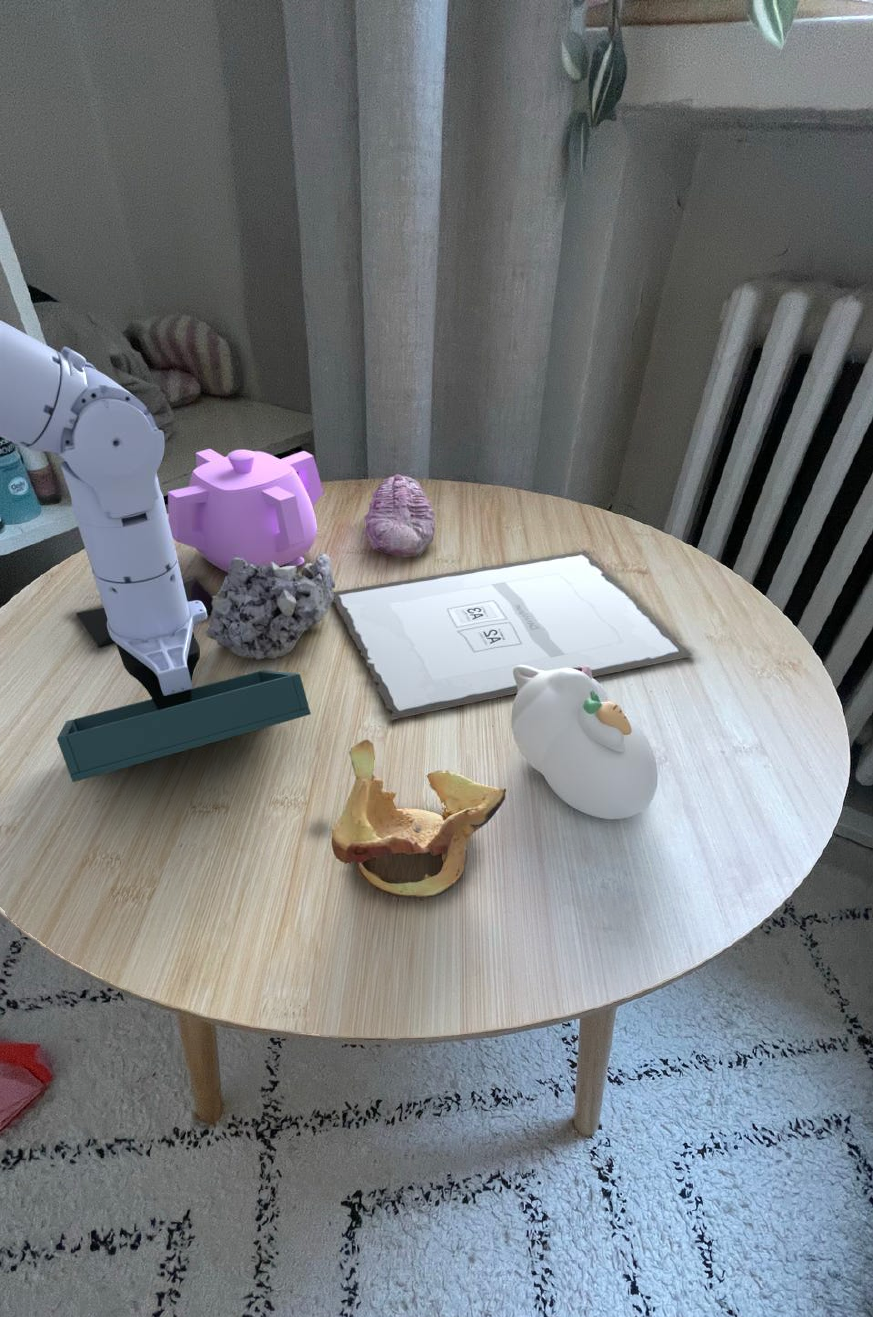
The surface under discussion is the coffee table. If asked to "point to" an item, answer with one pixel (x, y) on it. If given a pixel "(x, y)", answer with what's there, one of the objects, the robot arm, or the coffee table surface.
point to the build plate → (97, 619)
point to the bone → (411, 824)
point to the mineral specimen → (269, 606)
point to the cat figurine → (582, 742)
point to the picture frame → (497, 630)
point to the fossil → (400, 518)
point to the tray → (180, 722)
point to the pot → (248, 508)
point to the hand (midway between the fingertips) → (176, 714)
